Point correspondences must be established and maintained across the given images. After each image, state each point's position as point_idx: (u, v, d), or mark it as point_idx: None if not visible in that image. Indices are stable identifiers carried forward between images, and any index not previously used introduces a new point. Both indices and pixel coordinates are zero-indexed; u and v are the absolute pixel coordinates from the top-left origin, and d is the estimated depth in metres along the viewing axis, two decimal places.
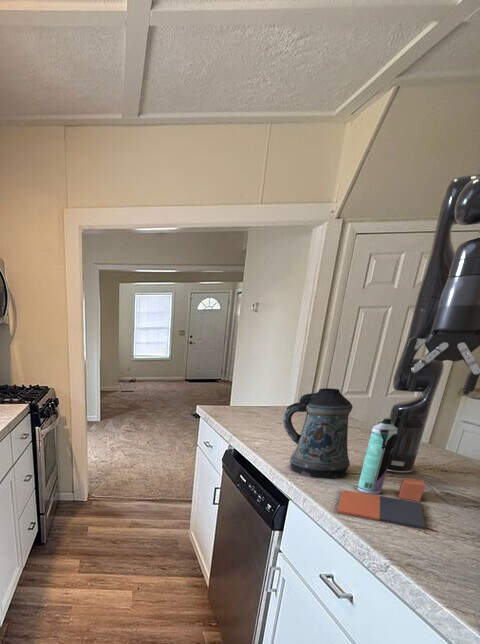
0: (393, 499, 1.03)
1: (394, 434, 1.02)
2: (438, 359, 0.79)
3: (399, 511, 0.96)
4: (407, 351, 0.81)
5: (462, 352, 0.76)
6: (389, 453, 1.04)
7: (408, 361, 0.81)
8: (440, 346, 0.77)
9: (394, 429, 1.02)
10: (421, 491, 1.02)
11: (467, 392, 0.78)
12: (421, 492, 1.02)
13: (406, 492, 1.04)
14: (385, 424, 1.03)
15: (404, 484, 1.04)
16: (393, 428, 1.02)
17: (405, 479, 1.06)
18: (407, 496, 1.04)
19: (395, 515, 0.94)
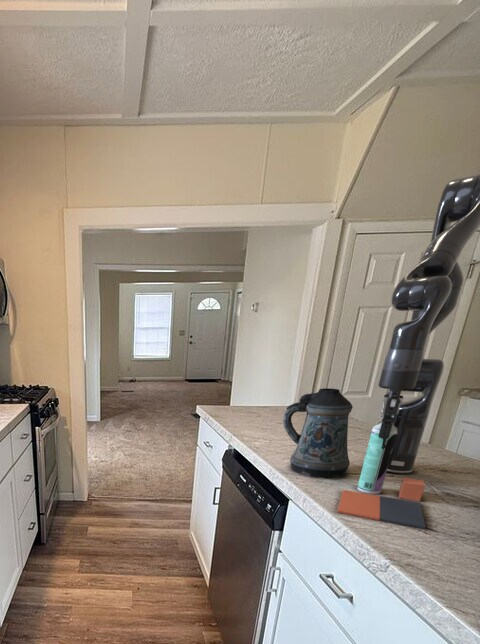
0: (393, 499, 1.03)
1: (394, 434, 1.02)
2: None
3: (399, 511, 0.96)
4: None
5: (383, 403, 1.01)
6: (389, 453, 1.04)
7: None
8: None
9: (394, 429, 1.02)
10: (421, 491, 1.02)
11: None
12: (421, 492, 1.02)
13: (406, 492, 1.04)
14: None
15: (404, 484, 1.04)
16: (393, 428, 1.02)
17: (405, 479, 1.06)
18: (407, 496, 1.04)
19: (395, 515, 0.94)
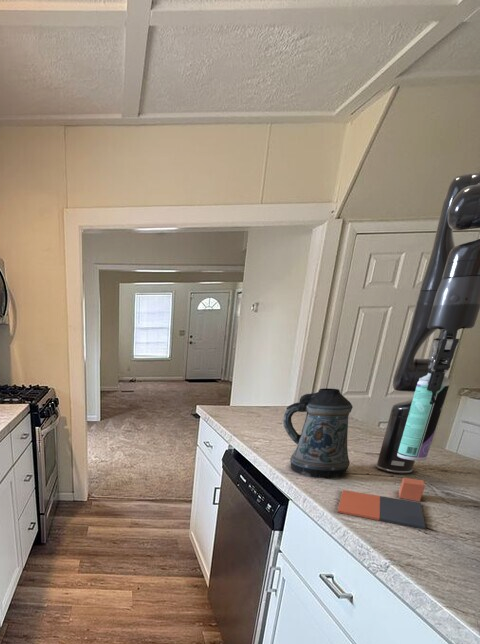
0: (393, 499, 1.03)
1: (446, 386, 0.84)
2: None
3: (399, 511, 0.96)
4: None
5: (433, 348, 0.84)
6: (439, 410, 0.86)
7: None
8: None
9: (446, 380, 0.84)
10: (421, 491, 1.02)
11: (427, 388, 0.85)
12: (421, 492, 1.02)
13: (406, 492, 1.04)
14: None
15: (404, 484, 1.04)
16: (445, 378, 0.84)
17: (405, 479, 1.06)
18: (407, 496, 1.04)
19: (395, 515, 0.94)
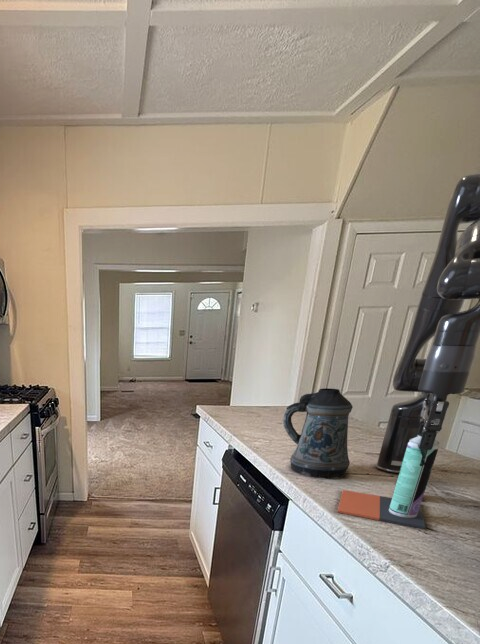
0: None
1: (435, 449, 0.87)
2: None
3: None
4: None
5: (424, 410, 0.86)
6: (429, 471, 0.89)
7: None
8: (423, 402, 0.88)
9: (435, 443, 0.87)
10: None
11: (419, 446, 0.86)
12: None
13: None
14: None
15: None
16: (434, 442, 0.87)
17: None
18: None
19: (395, 515, 0.94)
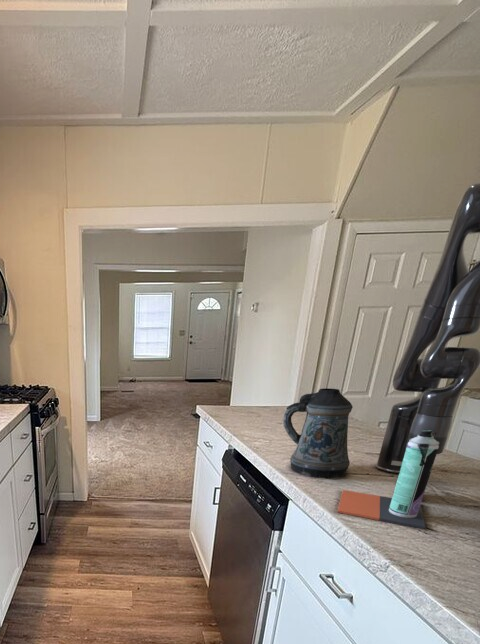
0: None
1: (435, 449, 0.87)
2: None
3: None
4: None
5: None
6: (428, 471, 0.89)
7: None
8: None
9: (435, 443, 0.87)
10: None
11: None
12: None
13: None
14: (424, 438, 0.88)
15: None
16: (434, 442, 0.87)
17: None
18: None
19: (395, 515, 0.94)
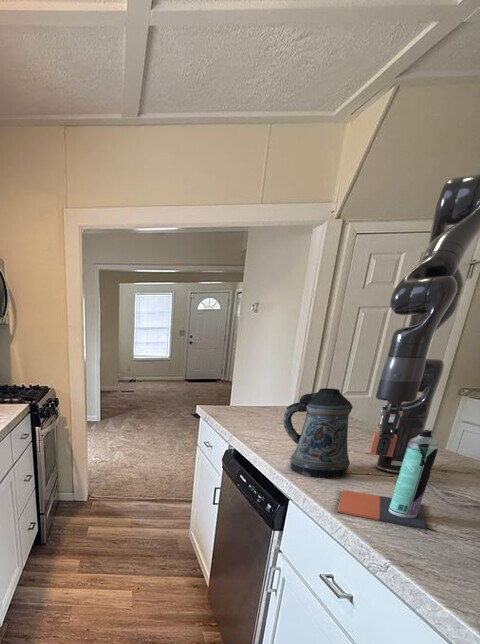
0: None
1: (435, 449, 0.87)
2: None
3: None
4: None
5: (381, 416, 0.92)
6: (428, 471, 0.89)
7: None
8: (381, 410, 0.94)
9: (435, 443, 0.87)
10: (393, 445, 0.92)
11: (376, 452, 0.94)
12: (393, 446, 0.92)
13: None
14: (424, 438, 0.88)
15: (375, 438, 0.94)
16: (434, 442, 0.87)
17: (376, 433, 0.96)
18: None
19: (395, 515, 0.94)
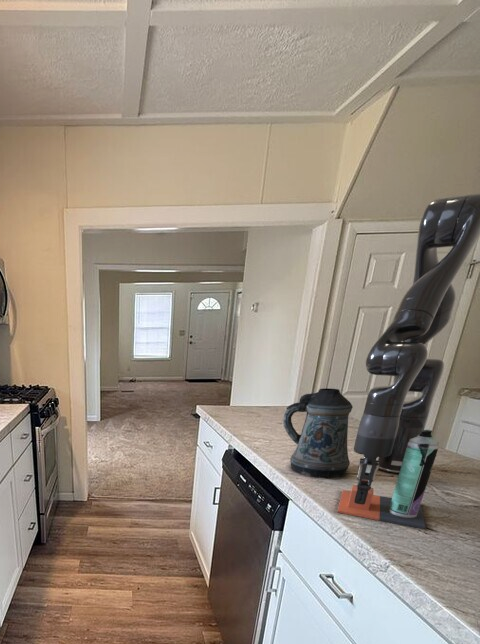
0: None
1: (435, 449, 0.87)
2: None
3: None
4: None
5: None
6: (428, 471, 0.89)
7: None
8: None
9: (435, 443, 0.87)
10: (369, 500, 0.96)
11: (354, 501, 0.96)
12: (369, 501, 0.96)
13: (354, 500, 0.98)
14: (424, 438, 0.88)
15: (352, 492, 0.98)
16: (434, 442, 0.87)
17: (354, 486, 1.00)
18: (355, 505, 0.98)
19: (395, 515, 0.94)
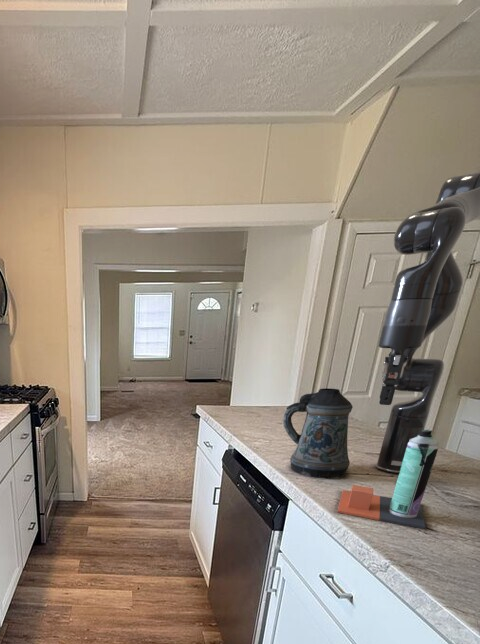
0: None
1: (435, 449, 0.87)
2: None
3: None
4: None
5: (384, 366, 0.87)
6: (428, 471, 0.89)
7: None
8: None
9: (435, 443, 0.87)
10: (369, 500, 0.96)
11: (379, 402, 0.87)
12: (369, 501, 0.96)
13: (354, 500, 0.98)
14: (424, 438, 0.88)
15: (352, 492, 0.98)
16: (434, 442, 0.87)
17: (354, 486, 1.00)
18: (355, 505, 0.98)
19: (395, 515, 0.94)
